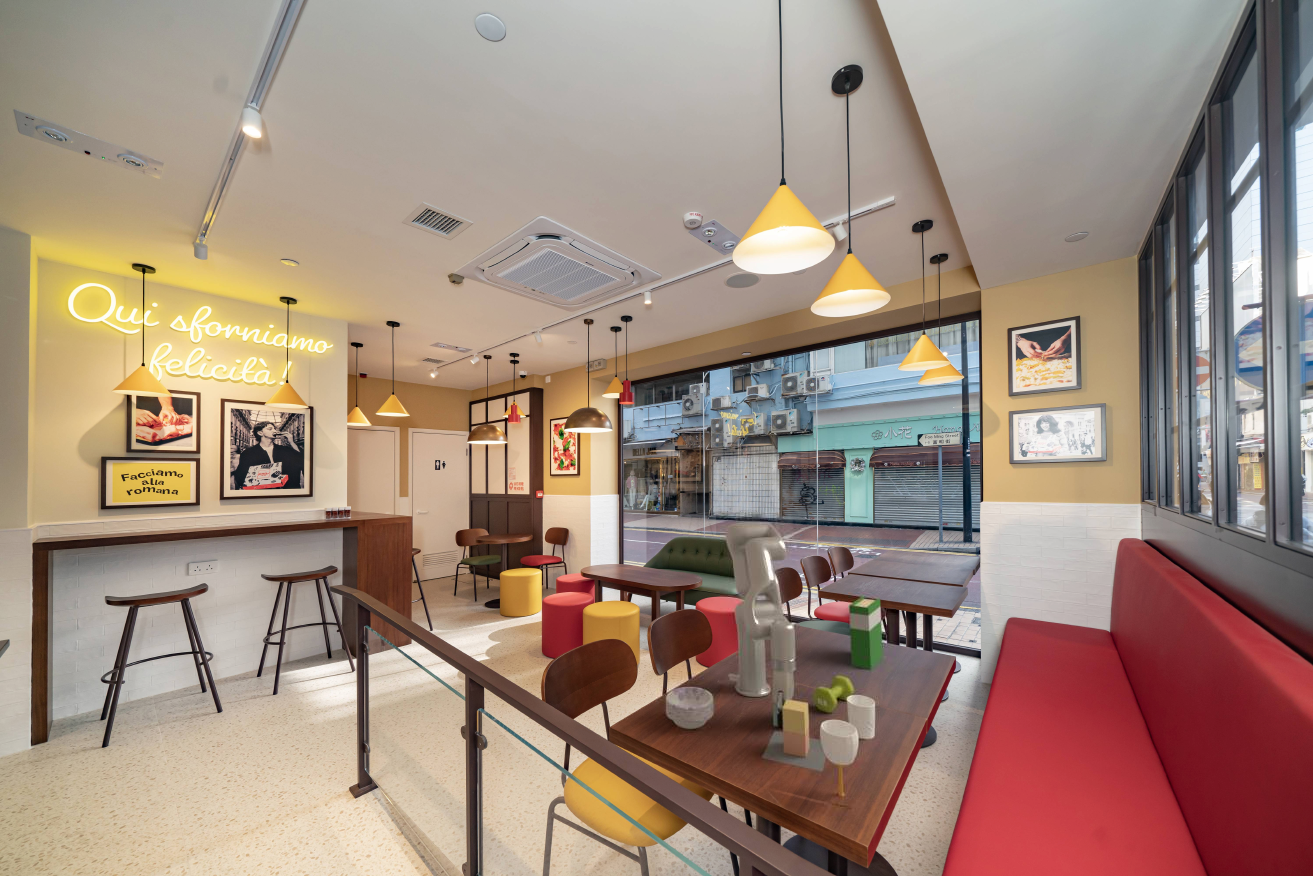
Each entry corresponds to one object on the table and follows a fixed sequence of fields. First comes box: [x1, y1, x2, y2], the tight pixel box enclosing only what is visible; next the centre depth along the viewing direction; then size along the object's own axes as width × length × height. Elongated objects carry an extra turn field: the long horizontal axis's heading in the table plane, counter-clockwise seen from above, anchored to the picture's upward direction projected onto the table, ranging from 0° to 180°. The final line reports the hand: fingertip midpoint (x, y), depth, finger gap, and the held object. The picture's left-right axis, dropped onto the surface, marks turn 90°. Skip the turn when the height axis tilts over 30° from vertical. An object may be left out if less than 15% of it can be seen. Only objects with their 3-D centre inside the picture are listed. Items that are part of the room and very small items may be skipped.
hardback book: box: [848, 596, 884, 671], centre depth 210 cm, size 18×7×24 cm, turn 142°
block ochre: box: [782, 699, 810, 735], centre depth 143 cm, size 6×6×6 cm
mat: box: [761, 730, 827, 773], centre depth 142 cm, size 16×16×1 cm
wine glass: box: [819, 719, 860, 810], centre depth 123 cm, size 9×9×16 cm
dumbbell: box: [812, 675, 855, 714], centre depth 171 cm, size 16×8×7 cm, turn 134°
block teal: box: [772, 700, 785, 728], centre depth 158 cm, size 6×6×6 cm
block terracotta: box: [782, 726, 810, 757], centre depth 142 cm, size 6×6×6 cm
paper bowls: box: [665, 686, 715, 730], centre depth 161 cm, size 15×15×8 cm
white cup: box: [846, 694, 876, 740], centre depth 151 cm, size 8×8×10 cm
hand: (785, 721), depth 158 cm, fingers closed on block teal, 6 cm apart
